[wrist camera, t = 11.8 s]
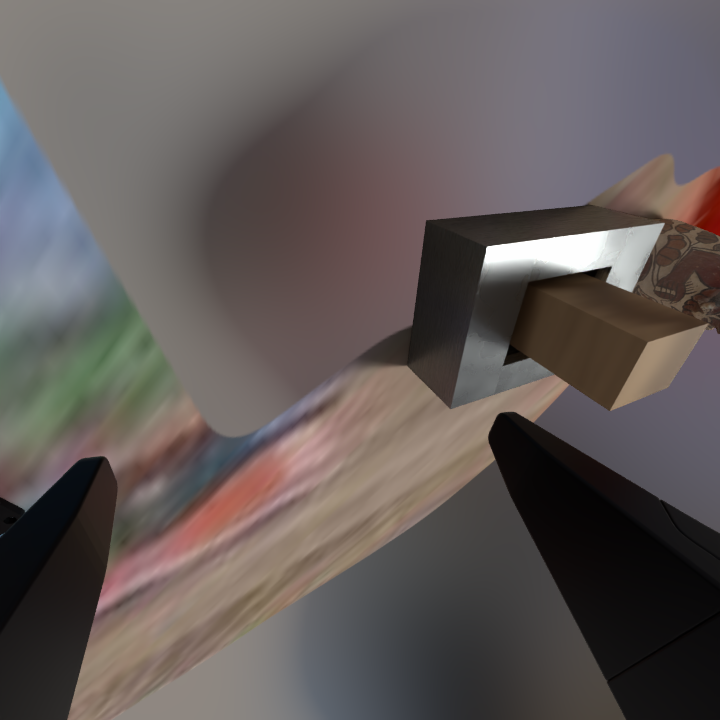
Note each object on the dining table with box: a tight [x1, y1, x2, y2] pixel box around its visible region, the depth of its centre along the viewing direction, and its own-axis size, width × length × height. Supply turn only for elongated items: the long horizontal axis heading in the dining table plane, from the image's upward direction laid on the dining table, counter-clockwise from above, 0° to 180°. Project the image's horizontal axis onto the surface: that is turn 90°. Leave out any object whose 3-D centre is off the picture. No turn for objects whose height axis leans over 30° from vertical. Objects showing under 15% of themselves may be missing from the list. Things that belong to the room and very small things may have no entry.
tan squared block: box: [510, 272, 709, 411], centre depth 23 cm, size 5×4×11 cm
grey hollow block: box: [407, 205, 665, 409], centre depth 25 cm, size 14×10×5 cm
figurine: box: [632, 219, 720, 334], centre depth 28 cm, size 7×7×12 cm
